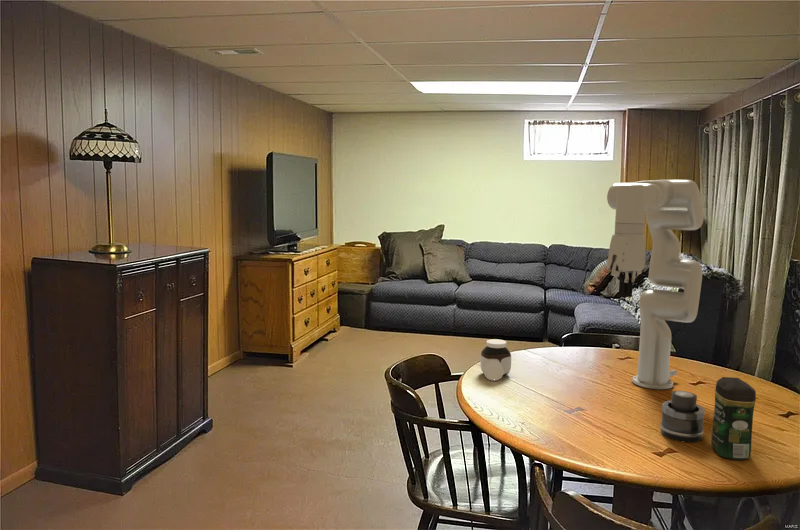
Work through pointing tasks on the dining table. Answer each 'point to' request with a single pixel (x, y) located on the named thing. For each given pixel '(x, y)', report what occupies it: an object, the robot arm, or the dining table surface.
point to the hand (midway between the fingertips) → (625, 296)
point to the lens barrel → (682, 423)
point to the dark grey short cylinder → (683, 401)
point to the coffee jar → (733, 418)
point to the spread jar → (495, 359)
